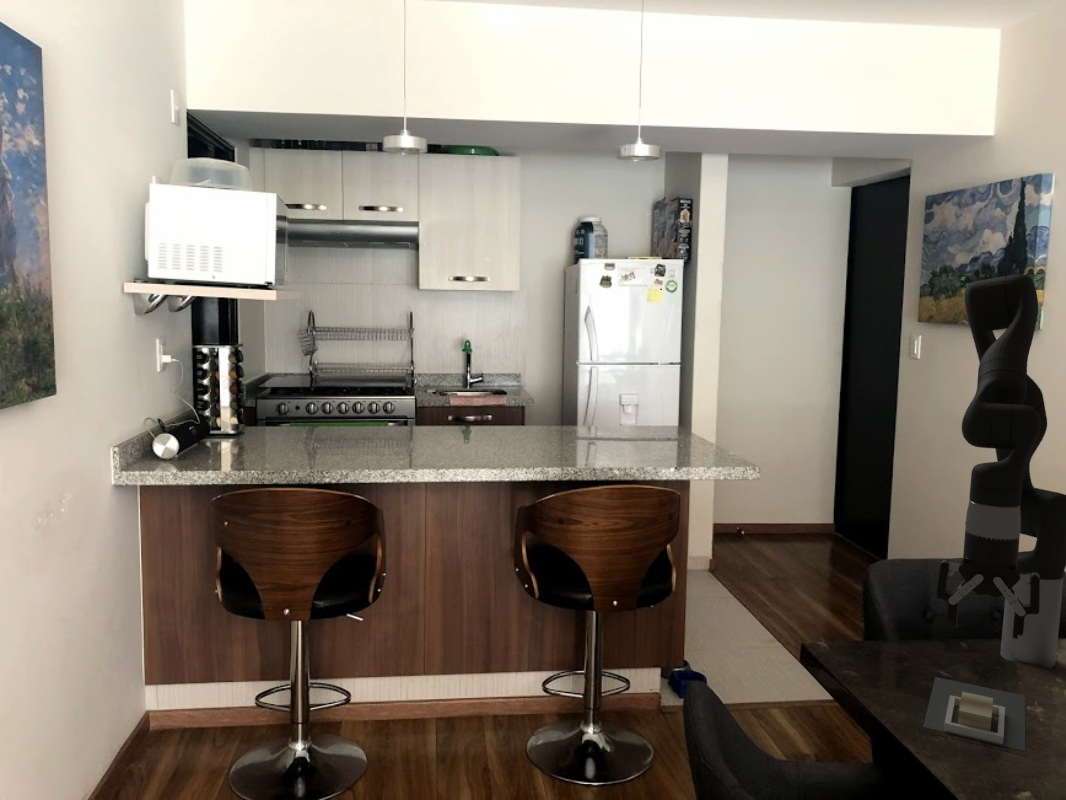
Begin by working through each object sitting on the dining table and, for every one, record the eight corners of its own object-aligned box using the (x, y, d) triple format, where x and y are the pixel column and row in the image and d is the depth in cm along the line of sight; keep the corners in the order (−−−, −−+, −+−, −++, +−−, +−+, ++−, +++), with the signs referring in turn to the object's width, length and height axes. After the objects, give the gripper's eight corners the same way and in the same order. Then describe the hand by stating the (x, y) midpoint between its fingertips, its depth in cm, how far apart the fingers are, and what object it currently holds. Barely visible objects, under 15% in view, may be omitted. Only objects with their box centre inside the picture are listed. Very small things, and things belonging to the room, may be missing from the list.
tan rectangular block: (989, 736, 134) (991, 717, 133) (957, 728, 136) (959, 710, 136) (991, 715, 141) (993, 698, 140) (960, 708, 143) (962, 691, 142)
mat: (934, 681, 155) (935, 676, 155) (1024, 700, 149) (1024, 695, 148) (922, 731, 136) (923, 726, 136) (1024, 756, 129) (1025, 751, 129)
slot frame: (949, 702, 145) (950, 695, 145) (1004, 714, 141) (1004, 707, 141) (943, 730, 135) (944, 723, 135) (1002, 744, 131) (1003, 736, 131)
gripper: (940, 529, 135) (932, 630, 137) (1046, 543, 128) (1036, 649, 130) (943, 519, 142) (936, 615, 143) (1044, 532, 135) (1035, 633, 136)
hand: (984, 631), depth 137 cm, fingers open, 8 cm apart
